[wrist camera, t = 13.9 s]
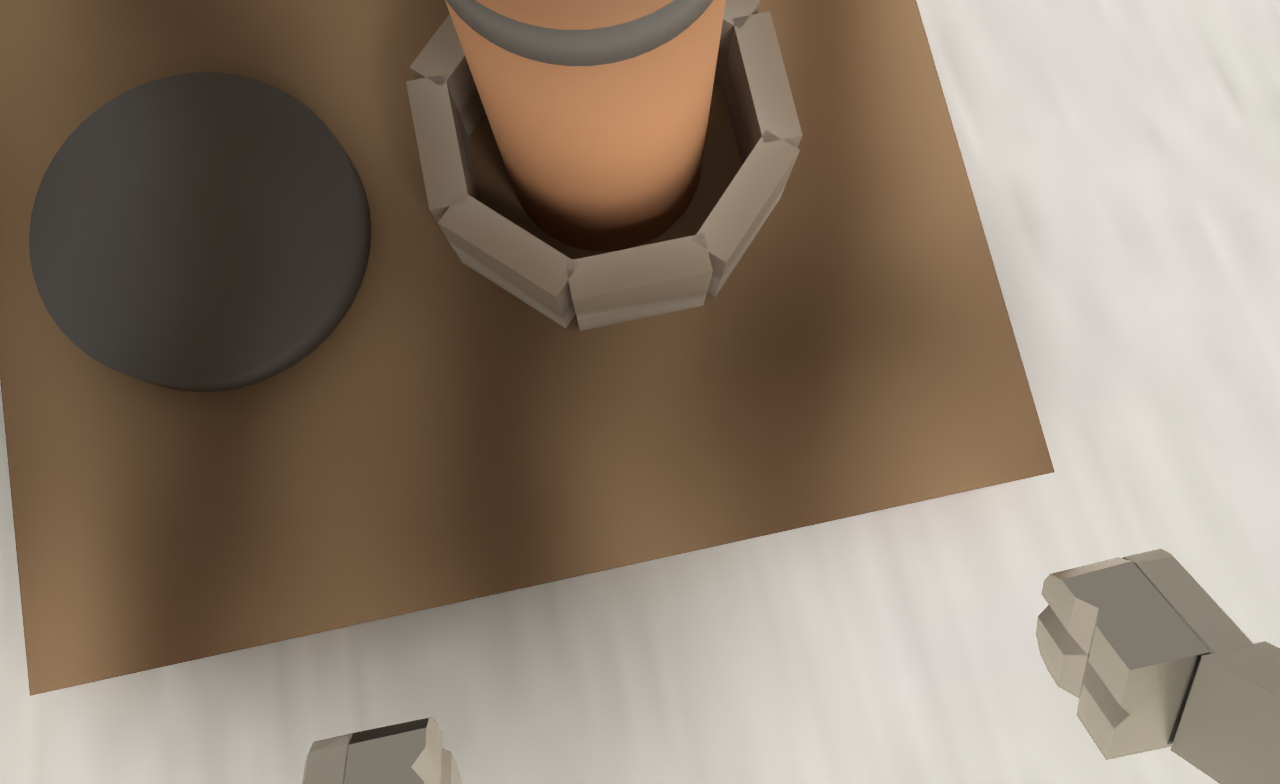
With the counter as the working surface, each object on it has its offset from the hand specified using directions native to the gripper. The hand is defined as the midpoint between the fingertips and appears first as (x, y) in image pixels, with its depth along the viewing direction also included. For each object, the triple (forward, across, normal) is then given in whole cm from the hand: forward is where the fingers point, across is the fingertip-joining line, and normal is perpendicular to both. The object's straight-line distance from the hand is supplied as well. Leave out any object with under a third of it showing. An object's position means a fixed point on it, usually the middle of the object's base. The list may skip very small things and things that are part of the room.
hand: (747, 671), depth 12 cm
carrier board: (+14, +3, -1) cm, 14 cm away
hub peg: (+13, 0, -2) cm, 13 cm away
